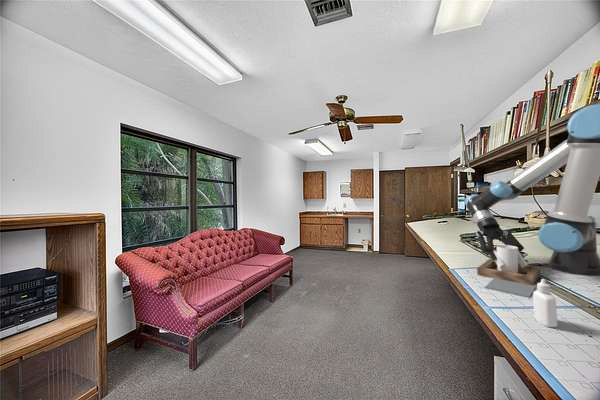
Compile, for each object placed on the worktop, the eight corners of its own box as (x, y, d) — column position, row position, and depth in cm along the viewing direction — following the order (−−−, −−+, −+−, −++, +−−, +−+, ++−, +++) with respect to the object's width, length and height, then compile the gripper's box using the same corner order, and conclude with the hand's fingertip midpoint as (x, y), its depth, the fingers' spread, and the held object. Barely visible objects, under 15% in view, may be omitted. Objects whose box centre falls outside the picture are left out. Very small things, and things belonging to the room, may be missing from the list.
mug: (515, 279, 93) (515, 249, 92) (494, 274, 98) (494, 246, 98) (522, 273, 99) (522, 245, 98) (502, 269, 104) (501, 242, 104)
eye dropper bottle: (556, 320, 65) (554, 278, 64) (557, 329, 61) (555, 284, 60) (534, 315, 68) (532, 274, 67) (533, 324, 64) (531, 280, 64)
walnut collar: (540, 273, 97) (540, 266, 97) (532, 285, 87) (532, 277, 86) (489, 265, 110) (489, 259, 110) (477, 274, 100) (477, 268, 100)
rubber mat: (536, 287, 85) (535, 286, 85) (529, 297, 78) (529, 296, 78) (494, 279, 95) (494, 278, 95) (485, 287, 88) (484, 286, 88)
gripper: (506, 225, 112) (536, 270, 96) (459, 227, 115) (481, 270, 99) (514, 215, 106) (547, 261, 91) (465, 218, 109) (489, 262, 94)
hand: (513, 266), depth 95 cm, fingers closed on mug, 8 cm apart
